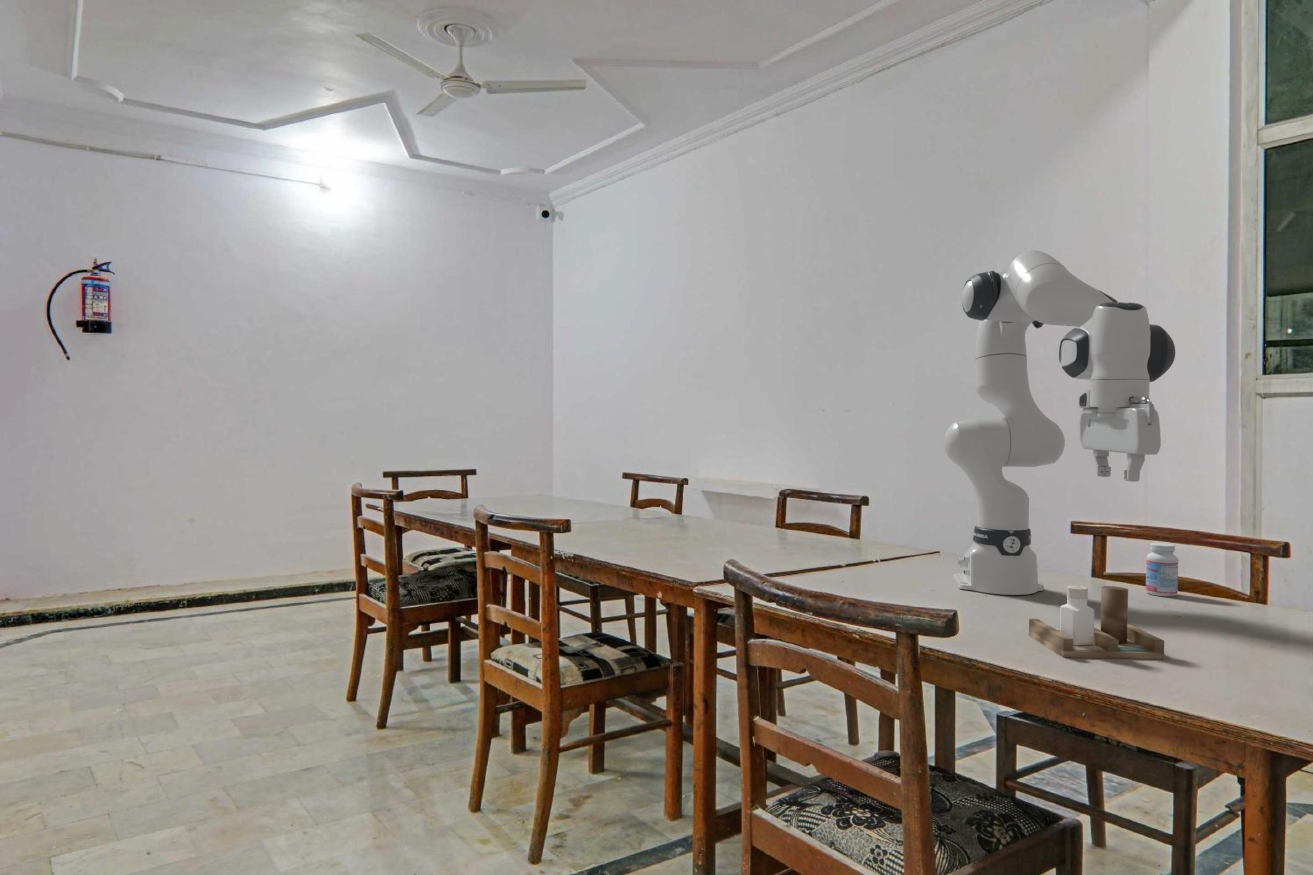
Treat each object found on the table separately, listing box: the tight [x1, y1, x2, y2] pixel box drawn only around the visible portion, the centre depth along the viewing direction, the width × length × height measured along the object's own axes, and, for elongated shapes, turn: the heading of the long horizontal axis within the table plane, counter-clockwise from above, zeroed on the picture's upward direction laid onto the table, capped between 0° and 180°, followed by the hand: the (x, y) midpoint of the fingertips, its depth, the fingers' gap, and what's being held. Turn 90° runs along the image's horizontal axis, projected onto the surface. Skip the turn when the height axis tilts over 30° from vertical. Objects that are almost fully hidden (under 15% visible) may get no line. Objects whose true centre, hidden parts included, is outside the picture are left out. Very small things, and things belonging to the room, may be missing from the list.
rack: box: [1028, 618, 1165, 660], centre depth 143 cm, size 14×16×3 cm
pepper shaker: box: [1059, 585, 1095, 646], centre depth 141 cm, size 4×4×10 cm
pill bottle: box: [1145, 542, 1179, 598], centre depth 187 cm, size 6×6×11 cm
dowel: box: [1100, 585, 1129, 644], centre depth 143 cm, size 4×4×9 cm
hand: (1117, 478), depth 143 cm, fingers open, 8 cm apart
